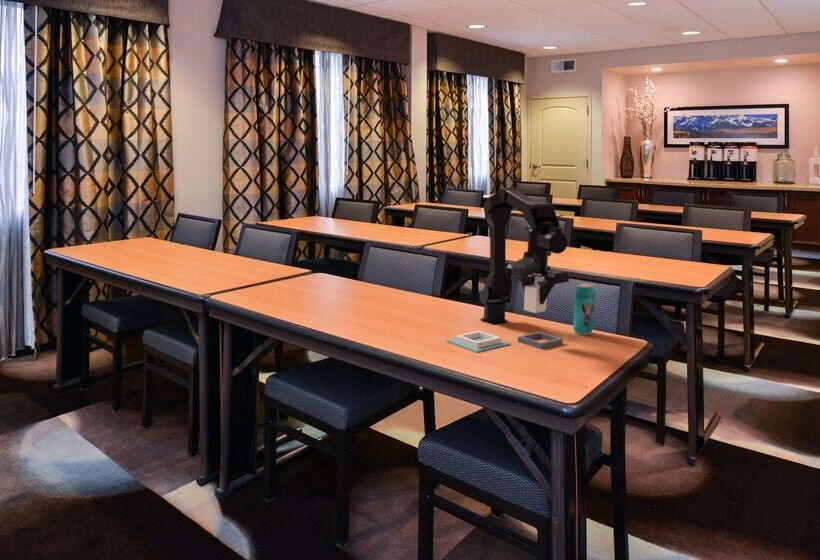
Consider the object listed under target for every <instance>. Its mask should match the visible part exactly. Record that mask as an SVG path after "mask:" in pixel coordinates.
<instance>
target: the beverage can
mask: <svg viewBox="0 0 820 560" xmlns="http://www.w3.org/2000/svg"><path fill="white" fill-rule="evenodd" d="M574 292H575V293H574V309H573V327H572V328H573V331H574V334H576V333H577V334H576V335H578V334H581V335H580V336H589V335H588V334H590V335H591V334H592V332H593V329H594V314H595V299H596V289H595V284H592V283H583V282H582V283H577V284H576V287H575V291H574Z"/></svg>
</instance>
